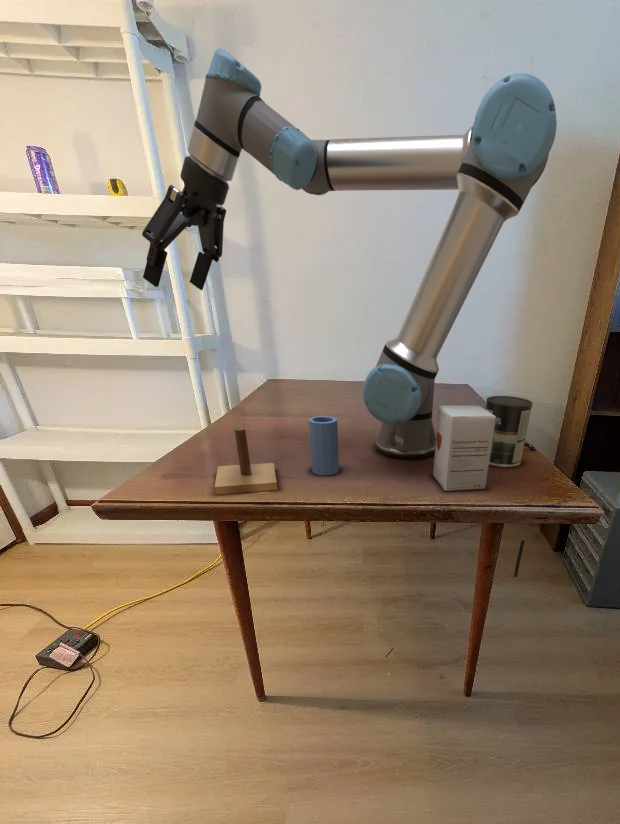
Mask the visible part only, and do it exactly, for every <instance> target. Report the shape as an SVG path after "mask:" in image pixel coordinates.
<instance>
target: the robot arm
mask: <svg viewBox="0 0 620 824" xmlns="http://www.w3.org/2000/svg"><path fill="white" fill-rule="evenodd" d="M204 78H205V81H204V84H203V88H202V93H201V98H200V102H199V106H198V109H197V114H196V118H195V121H194V124H193V129H192V132H191V136H190V139H189V143H188V146H187V152H188V154H189V155H186V156H184V160H183V164H182V167H181V170H180V175H179V176H180V179H181V181H182V182H183V185H184V186H183V189H182V190H181V191H180V190H179V189H178V188H177V187H175V186H174V185H173V184H169V185H168V188H167V191H166V193H165V196H164V198H163V199H162V201H161V203H160V204H159V206H158V208H157V209H156V210H155V212H154V213H153V215H152V216H151V218H150V220H149V221H148V223H147V224H146V226H145V227H144V229H143V231H142V232H141V236H142V237H144V238H145V240H147V241H148V242H149V247H148V252H147V256H146V262H145V263H146V264H145V267H144V270H143V275H142V279H144V280H145V281H147V282H148V283H149V284H151V285H152V286H153V287H155V288H159V286H160V282H161V279H162V275H163V271H164V267H165V264H166V260H167V258H168V257H167V256H168V251H166V249H167V248H168V247H169V246H170V245H171V244H172V242H173V241H175V239H177V237H178V236H179V235H180V234H181V233H182V232H183V231H184V230H185V229H186V228H191V227H192V226H194V227H197V228H198V229H197V230H198V234H199V238H200V239H199V241H200V246H201V251H198V254H197V257H196V260H195V263H194V267H193V269H192V272H191V276H190V279H189V284H191V285H193V286H194V287H195V288H197V289H198V290H199V291H203V290H204V286H205V283H206V281H207V279H208V275H209V272H210V269H211V265H212V263H213V261H214V262H215V263H218V262H219V261H220V258H221V257H223V247H224V246H223V243H224V225H225V223H224V222H225V219H226V214H227V209H226V208H224V207H223V206H224V204H225V202H226V199H227V196H228V193H229V190H230V186H229V183H228V182H232V181H233V178H234V176H235V172H236V168H237V165H238V161H239V158H240V155H241V153H242V150H243V151H244V152H246V153H247V154H249V155H250V156H251V157H253V159H255V160H256V161H257V162H259V163H260V165H262V166H263V167H264V168H266V169H267V170H268V171H269V172H270V173H272V174H273V175H274V176H275V178H276V179H278V180H279V181H280V182H282V183H284V184H285V185H287V186H288V187H290V189H292V190H296V191H299V190H302V191H303V192H305V193H307V194H309V195H315V196H323V195H326V194H328V193H329V192H336V191H337V192H339V191H349V192H350V191H352V192H353V191H454V190H455V191H456V190H458V195H457V197H456V199H455V202H454V205H453V206H452V209H451V211H450V214H449V216H448V218H447V221H446V222H445V225H444V228H443V230H442V233H441V235H440V237H439V240H438V242H437V244H436V246H435V248H434V250H433V253H432V255H431V258H430V260H429V262H428V264H427V267H426V270H425V271H424V274H423V276H422V278H421V281H420V282H419V286H418V287H417V290H416V292H415V294H414V297H413V299H412V301H411V303H410V307H409V309H408V311H407V313H406V315H405V318H404V319H403V322H402V325H401V327H400V329H399V331H398V334H397V336H396V337H394V338H392V339H388V340H387V341H386V342H385V344H384V346H383V349H382V351H381V353H380V356H379V358H378V360H377V362H376V364H375V367H374V368H372V369H371V371H369V373H368V374H367V375H366V378H365V380H364V382H363V385H362V398H363V402H364V404H365V407H366V409H367V411H368V412H369V413H370V415H371V416H372V417H374V418H375V419H376V420H377V421H379V422H381V426H380V428H379V431H378V434H377V438H376V440H375V441H376V442H375V444H376V446H375V447H376V450H377V452H379V453H381V454H382V455H385V456H388V457H391V458H397V459H410V460H411V459H413V460H414V459H423V458H428V457H431V456H434V455H435V447H436V431H435V427H434V423H433V408H434V395H435V384H436V383H435V381H436V377H437V376H438V373H439V371H440V367H439V364H438V356H439V354H440V352H441V350H442V348H443V346H444V344H445V342H446V341H447V340H446V339H447V338H448V336H449V333H450V332H451V329H452V328H453V326H454V323H455V322H456V319H457V318H458V315H459V313H460V312H461V310H462V307H463V305H464V303H465V301H466V300H467V297H468V296H469V294H470V291H471V289H472V287H473V286H474V283H475V281H476V279H477V278H478V275H479V273H480V272H481V269H482V267H483V266H484V263H485V261H486V259H487V257H488V255H489V253H490V251H491V249H492V247H493V245H494V243H495V241H496V239H497V237H498V235H499V233H500V231H501V228H502V227H503V225H504V223H505V222H507V220H510V219H513V218H515V217H517V216H518V215H519V214H520V211H521V209H522V207H523V206H524V203H525V202H526V200H527V198H528V196H529V194H530V192H531V189H532V188H533V187H534V186H535V185H536V183H538V181H539V180H540V178H541V176H542V175H543V173H544V171H545V169H546V167H547V163H548V160H549V155H550V152H551V150H552V147H553V145H554V142H555V139H556V134H557V125H558V123H557V122H558V121H557V111H556V105H555V104H556V103H555V101H554V97H553V96H552V93H551V91H550V89H549V87H547V85H546V83H544V82H543V81H542V80H541V79H540V78H538V77H537V76H535V75H532V74H530V73H523V72H518V73H513V74H510V75H507V76H505V77H503V78H501V79H500V80H498V81H497V82H495V83H494V84H493V85H492V86H491V87H490V88H489V89H488V91H487V92H486V93H485V95H484V96H483V98H482V99H481V102H480V103H479V106H478V108H477V110H476V113H475V115H474V121H473V123H472V126H470V127H469V128H468V130H467V131H466V132H465V133H464V134H446V135H445V134H443V135H417V136H415V135H413V136H388V137H387V136H386V137H384V136H383V137H361V138H360V137H355V138H332V139H311V138H310V137H308V136H307V135H306V134H305V133H304V132H303V131H301V130H300V129H299V128H298V127H296V126H295V125H293V124H292V123H291V122H290V121H288V120H287V119H286V118H285V117H283V116H282V115H281V114H280V113H278V112H277V111H276V110H275V109H273V108H272V107H271V106H269V105H268V104H267V103H266V102H265V101H264V100H263V98H261V93H262V83H261V80H260V79H259V78H258V77H257V76H256V75H255V74H254V73H252V71H250V70H249V69H248V68H247V67H246V66H244V64H242V63H241V62H239V61H238V59H237V58H235V57H234V56H233V55H231V54H230V53H229V52H228V51H226V50H225V49H223V48H217V49H215V50H214V52H213V56H212V59H211V61H210V65H209V68H208V71H207V73H206V74H205V77H204ZM528 443H529V442H525V443H524V447H526V448H529V449H530V451H534V452H536V451H537V449H536V447H535V446H534V445H533V444H531V443H529V444H530V445H531V446H532V447H530V446H529V444H528ZM533 448H534V449H533ZM525 541H526V540H524V539H523V540H520V546H519V549H518V553H517V558H516V563H515V567H514V574H513V577H514V578H517V577H518V574H519V569H520V564H521V559H522V555H523V550H524V546H525Z"/></svg>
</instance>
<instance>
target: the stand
mask: <svg viewBox="0 0 620 824" xmlns="http://www.w3.org/2000/svg"><path fill="white" fill-rule="evenodd" d="M246 431H247V430H246V428H245V427H241V426H240V427H239V426H238V427H234V428H233V432H234V433H233V434H234V440H235V446H236V453H237V458H238V464H234V465H217V470H216V477H215V482H214V491H215V495H217V496H219V495H229V494H231V495H232V494H242V493H255V492H268V491H278V481H277V476H276V468H275V463H274V462H267V463H266V462H265V463H251V460H250V452H249V446H248V438H247V432H246Z"/></svg>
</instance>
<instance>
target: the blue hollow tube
mask: <svg viewBox="0 0 620 824" xmlns="http://www.w3.org/2000/svg"><path fill="white" fill-rule="evenodd" d="M338 430H339V429H338V419H337V418H336V417H334V416H327V415H321V416H320V415H319V416H318V415H317V416H311V417H310V418H308V431H309V432H308V433H309V446H310V460H311V461H310V462H311V471H312V473H313V474H314V475H317V476H333V475H336V474H338V472H340V463H339V462H340V461H339V460H340V459H339V434H338Z"/></svg>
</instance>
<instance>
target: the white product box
mask: <svg viewBox="0 0 620 824" xmlns="http://www.w3.org/2000/svg"><path fill="white" fill-rule="evenodd" d="M437 410H438V412H437V421H436V422H437V424H436V433H435V436H436V447H435V454H434V459H433V472H432V473H433V474H432V476H433V477H434V479H436V481H437V482H438V483H439V485H440V486H441V488H442V489H443V490H444V491H445V492H449V491H451V492H453V491H469V490H471V491H472V490H485V489H486V484H487V479H488V471H489V466H490V465H489V459H490V453H491V446H492V440H493V433H494V427H495V420H496V416H494V415H493V414H491V413H490V412H488V411H487V410H486V408H483V407H482V406H480V405H479V404H475V405H474V404H473V405H453V404H452V405H449V404H448V405H447V404H445V405H444V404H443V405H438V409H437Z"/></svg>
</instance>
